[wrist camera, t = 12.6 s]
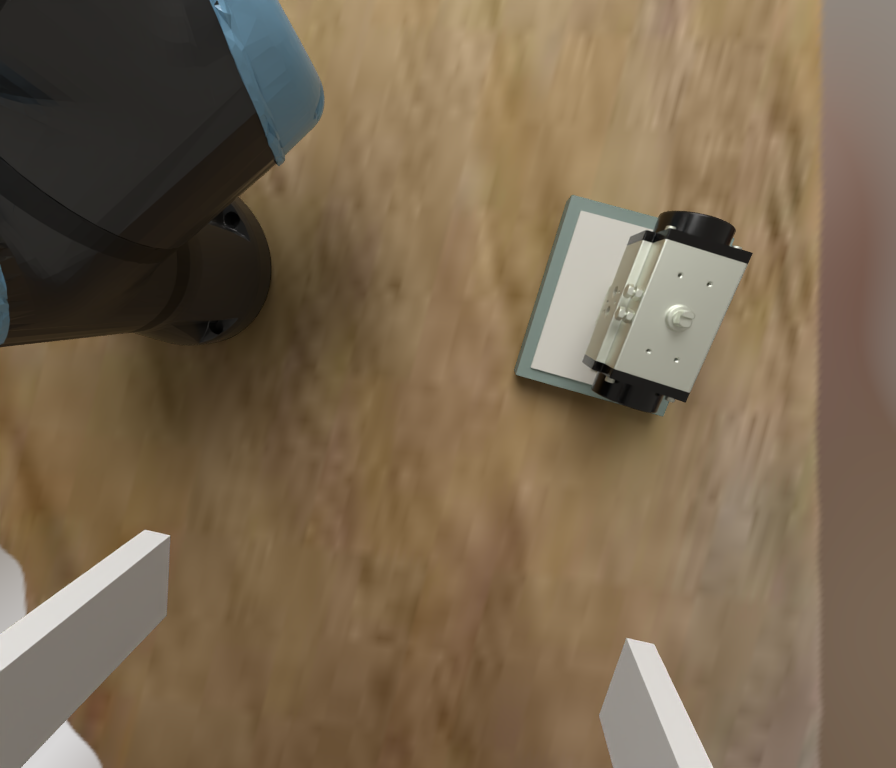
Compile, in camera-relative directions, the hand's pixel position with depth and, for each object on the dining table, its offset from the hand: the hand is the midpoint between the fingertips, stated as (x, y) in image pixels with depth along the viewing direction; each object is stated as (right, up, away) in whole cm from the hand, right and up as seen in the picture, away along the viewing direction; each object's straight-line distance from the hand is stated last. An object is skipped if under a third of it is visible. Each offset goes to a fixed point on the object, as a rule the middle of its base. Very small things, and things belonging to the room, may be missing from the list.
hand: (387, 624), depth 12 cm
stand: (+16, +13, +26) cm, 33 cm away
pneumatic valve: (+15, +13, +23) cm, 31 cm away
